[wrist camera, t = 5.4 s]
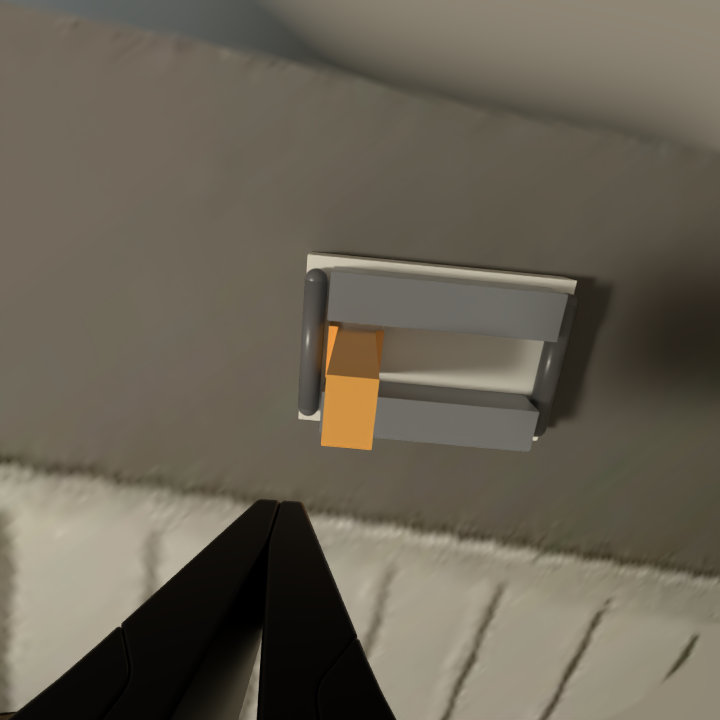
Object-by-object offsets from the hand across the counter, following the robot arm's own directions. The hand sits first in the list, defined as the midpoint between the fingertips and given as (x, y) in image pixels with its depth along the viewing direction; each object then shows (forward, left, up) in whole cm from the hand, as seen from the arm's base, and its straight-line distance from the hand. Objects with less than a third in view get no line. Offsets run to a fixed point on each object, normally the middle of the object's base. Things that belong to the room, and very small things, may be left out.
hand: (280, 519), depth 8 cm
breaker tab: (-1, 0, -13) cm, 13 cm away
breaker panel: (-5, 0, -14) cm, 15 cm away
